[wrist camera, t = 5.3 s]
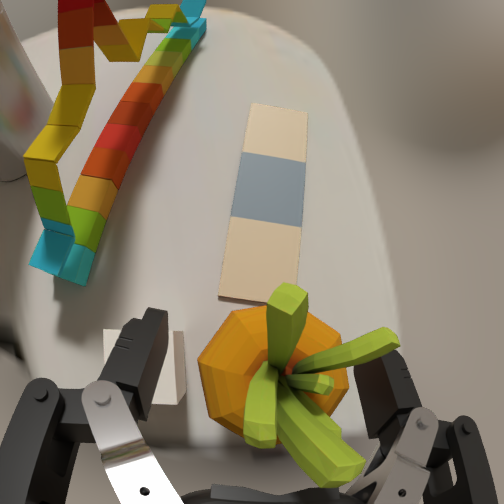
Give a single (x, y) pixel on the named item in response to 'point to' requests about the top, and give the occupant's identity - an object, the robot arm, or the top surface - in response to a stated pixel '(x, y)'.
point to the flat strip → (266, 205)
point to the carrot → (287, 382)
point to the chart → (116, 130)
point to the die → (172, 371)
